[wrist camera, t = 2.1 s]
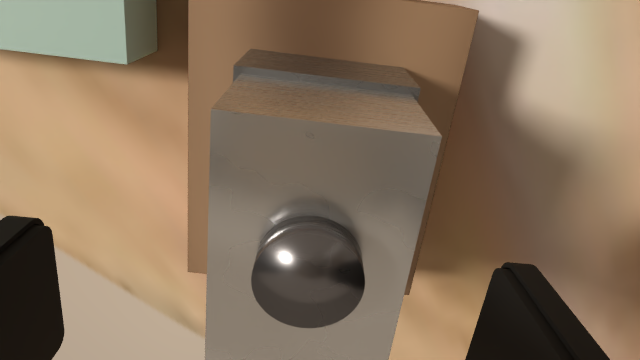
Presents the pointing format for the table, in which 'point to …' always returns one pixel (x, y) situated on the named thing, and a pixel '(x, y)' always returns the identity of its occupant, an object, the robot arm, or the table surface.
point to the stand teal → (80, 28)
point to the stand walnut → (328, 42)
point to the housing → (313, 207)
